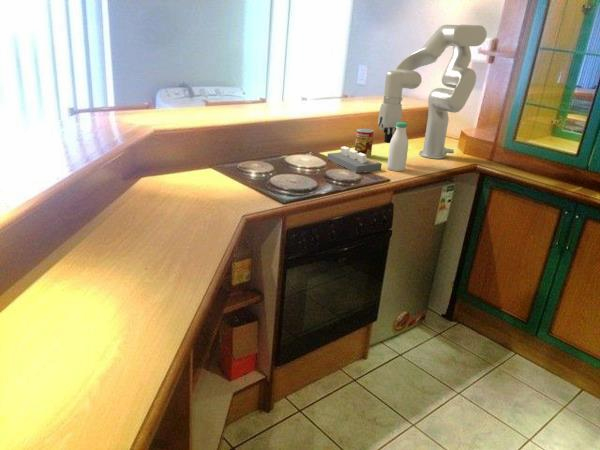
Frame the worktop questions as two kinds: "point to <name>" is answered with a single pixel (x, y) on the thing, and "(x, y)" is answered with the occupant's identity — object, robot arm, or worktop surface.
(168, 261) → the worktop surface
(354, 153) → the paddle mid
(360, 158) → the paddle
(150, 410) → the worktop surface
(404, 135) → the milk bottle
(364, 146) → the canned food
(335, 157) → the switch panel
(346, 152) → the paddle
